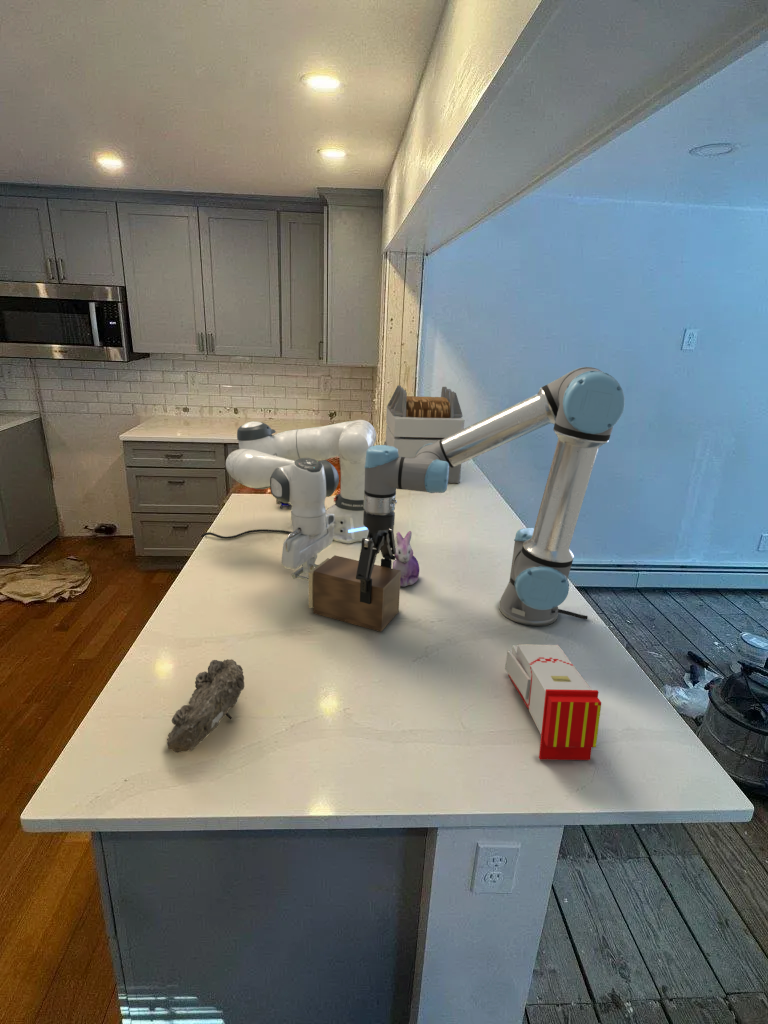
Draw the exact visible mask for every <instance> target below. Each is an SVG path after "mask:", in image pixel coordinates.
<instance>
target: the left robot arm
mask: <svg viewBox="0 0 768 1024" xmlns="http://www.w3.org/2000/svg"><path fill="white" fill-rule="evenodd" d="M236 440H237V441H238V449H235V450H233V451H231V452H230V453H229V454H228V455H227V458H226V460H225V469H226V472H227V474H228V475H229V476H230V477H231V478H232V479H233V480H234V481H236V482H237V483H238V484H240V485H243V486H244V487H247V488H251V489H254V490H267V489H270V493H271V495H272V496H273V498H275V499H277V500H279V501H281V502H283V503H290V504H291V505H290V504H289V505H290V506H291V509H290V528H291V531H289V530H282V529H269V528H268V529H266V528H265V529H263V528H261V529H250V530H246V531H242V532H241V533H238V534H234V535H229V536H224V535H220V534H217V533H214V532H211V531H209V532H204V533H203V534H202V535H200V537H201V538H204V537H205V536H213V537H215V538H219V539H224V540H230V539H236V538H238V537H241V536H243V535H246V534H251V533H263V532H265V533H266V532H267V533H283V534H287V537H286V538H285V539H284V541H283V543H282V551H281V565H282V567H283V568H285V569H288V570H292V571H294V570H298V569H299V568H300V567H303V573H302V574H306V575H309V572H310V571H311V570H313V569H314V568H315V567H314V564H316V561H317V558H318V554H320V553H321V552H322V551H324V550H325V549H327V548H328V547H330V546H331V545H332V543H333V541H336V542H339V543H343V544H352V543H357V542H361V541H362V538H365V539H367V536H368V532H369V530H368V529H367V528H366V527H365V526H364V525H363V513H364V511H365V509H364V490H365V462H366V451H367V449H368V448H369V447H371V446H375V444H376V441H377V432H376V428H375V427H374V426H373V424H372V423H371V422H369V421H367V420H365V419H356V420H349V421H344V422H343V421H342V422H338V423H332V424H328V425H323V426H315V427H305V428H296V429H290V430H285V431H281V432H278V433H277V432H276V429H273V428H271V427H270V426H269V425H268V424H267V423H264V422H263V421H253V420H252V421H248V422H245V423H244V424H242V425H239V427H238V428H237V430H236ZM337 457H338V460H339V469H340V475H339V472H338V470H337V468H335V466H334V465H333V464H332V463H331V462H330V461H329V460H330V459H332V458H337ZM339 476H340V477H339ZM339 482H340V490H339V491H338V492H337V494H336V495H335V496H334V497H333V502H334V504H333V505H331V506H329V507H328V508H326V505H325V504H326V503H325V501H326V499H327V498H328V497H329V498H330V497H332V495H333V494H334V493H335V492H336V490H337V488H338V486H339Z"/></svg>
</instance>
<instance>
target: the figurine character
mask: <svg viewBox="0 0 768 1024" xmlns="http://www.w3.org/2000/svg"><path fill="white" fill-rule="evenodd" d="M275 499H276V498H275ZM275 503H276V505H279V508H280V509H283V506H285V507H287V509H290V508H291V506H292V505H291V504H290V503H283V502H281V501H279V500H277V499H276V500H275Z"/></svg>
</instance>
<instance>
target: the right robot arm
mask: <svg viewBox="0 0 768 1024" xmlns="http://www.w3.org/2000/svg"><path fill="white" fill-rule="evenodd" d="M625 406H626V398H625V392H624V390H623V388H622V386H621V384H620V382H619V381H618V380H617V379H616V378H615V377H613V375H611V374H609V373H607V372H604V371H603V370H600V369H599V368H597V367H596V368H595V367H591V366H581V367H578V368H575V369H573V370H570V371H569V372H567V373H566V374H564V375H562V376H560V377H559V378H556V379H555V380H553V381H551V382H549V383H547V384H546V385H543V386H542V387H540V388H539V390H538V392H537V393H536V394H534V395H532V396H529V397H528V398H526V399H524V400H522V401H520V402H518V403H515V404H513V405H512V406H509V407H507V408H505V409H503V410H500V411H498V412H496V413H494V414H493V415H490V416H488V417H486V418H484V419H482V420H480V421H477V422H475V423H473V424H471V425H469V426H467V427H464V429H463V430H461V431H458V432H456V433H454V434H452V435H450V436H448V437H446V438H444V439H442V440H440V441H437V442H435V443H431V444H426V445H424V446H423V447H421V448H420V449H419V450H418V451H417V453H416V455H415V458H406V457H399V454H398V450H397V448H395V447H393V446H388V445H384V444H376V445H375V444H374V446H371V447H369V448H368V449H367V451H366V462H365V490H364V509H365V511H364V513H363V525H364V526H365V527H366V528H367V529H368V530H369V532H368V536H367V539H365V538H362V541H360V542H361V543H360V545H361V546H360V553H359V557H358V561H359V563H358V568H357V574H356V579H358V580H361V581H360V602H363V603H367V604H371V594H372V579H371V574H372V570H373V567H374V564H375V563H376V560H377V556H378V554H380V553H381V556H382V558H381V559H380V566H383V567H388V568H392V566H393V561H395V560H396V556H394V555H395V554H396V540H395V528H394V527H395V518H396V517H395V516H396V512H395V510H396V504H397V503H398V500H397V499H396V494H397V490H403V491H413V492H422V493H429V494H444V493H445V492H447V489H448V485H449V483H448V477H449V469H451V468H453V467H455V466H457V465H459V464H461V465H462V464H463V463H465V462H467V461H470V460H472V459H474V458H477V457H479V456H481V455H483V454H485V453H488V452H490V451H492V450H495V449H497V448H499V447H501V446H503V445H506V444H508V443H510V442H512V441H514V440H517V439H519V438H521V437H524V436H525V435H527V434H529V433H532V432H534V431H537V430H539V429H541V428H543V427H545V426H549V425H550V424H551V425H553V429H552V430H553V432H554V434H555V436H556V437H557V442H556V446H555V449H554V453H553V457H552V460H551V465H550V467H549V472H548V476H547V480H546V483H545V486H544V489H543V490H544V491H543V493H542V497H541V502H540V505H539V509H538V514H537V517H536V520H535V523H534V527H525V528H520V529H518V530H517V531H516V533H515V537H514V539H513V541H514V544H513V552H512V558H511V559H512V560H511V566H510V573H509V574H510V576H509V582H508V584H507V585H506V588H505V590H504V592H503V593H502V595H501V597H500V600H499V604H498V605H499V606H498V608H499V609H498V610H499V611H500V613H501V614H502V615H503V616H504V617H505V618H507V619H509V620H510V621H511V622H515V623H517V624H521V625H525V626H530V627H531V626H532V627H543V626H548V625H551V624H553V623H555V621H557V619H558V616H559V614H562V615H567V616H571V617H574V618H577V619H581V620H588V617H589V616H588V615H585V614H580V613H576V612H572V611H569V610H566V609H561V608H559V606H560V605H562V604H563V603H564V602H565V601H566V600H567V598H568V595H569V591H570V583H569V580H568V579H569V575H570V573H571V572H570V571H571V568H572V565H573V562H574V558H575V555H574V552H573V551H572V549H571V547H570V546H571V543H572V541H573V536H574V533H575V530H576V526H577V523H578V521H579V520H578V519H579V516H580V513H581V509H582V506H583V502H584V500H585V497H586V493H587V489H588V486H589V482H590V480H591V475H592V473H593V469H594V465H595V463H596V459H597V456H598V452H599V449H600V448H601V447H603V446H604V445H606V444H607V443H609V441H610V439H611V434H612V431H613V428H614V426H615V425H616V424H617V423H618V422H619V420H620V419H621V417H622V416H623V414H624V410H625Z"/></svg>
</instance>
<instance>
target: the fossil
mask: <svg viewBox="0 0 768 1024" xmlns="http://www.w3.org/2000/svg"><path fill="white" fill-rule="evenodd" d="M243 670H244V669H243V667H242V665H240V664H237V662H236V661H235V660H234V659H232V658H231V659H227V658H226V659H224V660H223V661H222V660H217V659H212V660H211V661H210V663H209V665H208V666H207V671H201V672H199V673H198V674H197V675H196V676H195V680H194V684H195V685H194V687H195V689H194V690H193V693H192V694H191V697H190V698H189V700H188V704H184V705H182V706H181V707H180V709H177V710H176V711H175V713H174V715H173V716H172V718H171V723H172V724H173V727H172V730H171V731H170V732H168V734H167V738H166V741H167V742H166V745H167V749H168V750H169V751H173V752H174V753H176V754H178V753H182V752H188V751H189V752H192V751H193V750H195V748H196V747H197V746H199V744H200V743H201V742H203V741H204V740H205V739H206V738H207V737H208V736H209V735H210V734H211V733H212V732H214V730H215V729H217V727H218V726H219V724H220V722H221V721H222V720H223V719H224V718H225V716H226V717H227V719H229V720H233V717H232V715H230V714H229V710H230V709H231V708H234V706H235V704H236V703H237V702H238V699H239V697H240V695H241V693H242V691H243V690H245V689H244V688H245V675H244V671H243Z"/></svg>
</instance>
